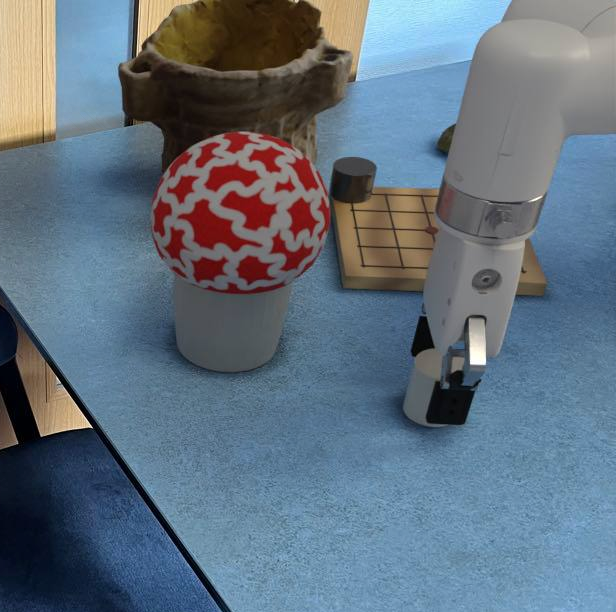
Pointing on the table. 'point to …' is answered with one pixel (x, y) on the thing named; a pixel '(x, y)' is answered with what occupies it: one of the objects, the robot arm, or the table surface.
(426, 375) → the beige cylinder
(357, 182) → the black stone
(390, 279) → the board
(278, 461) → the table surface
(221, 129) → the ceramic vessel
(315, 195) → the decorative object
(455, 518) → the table surface
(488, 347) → the robot arm
